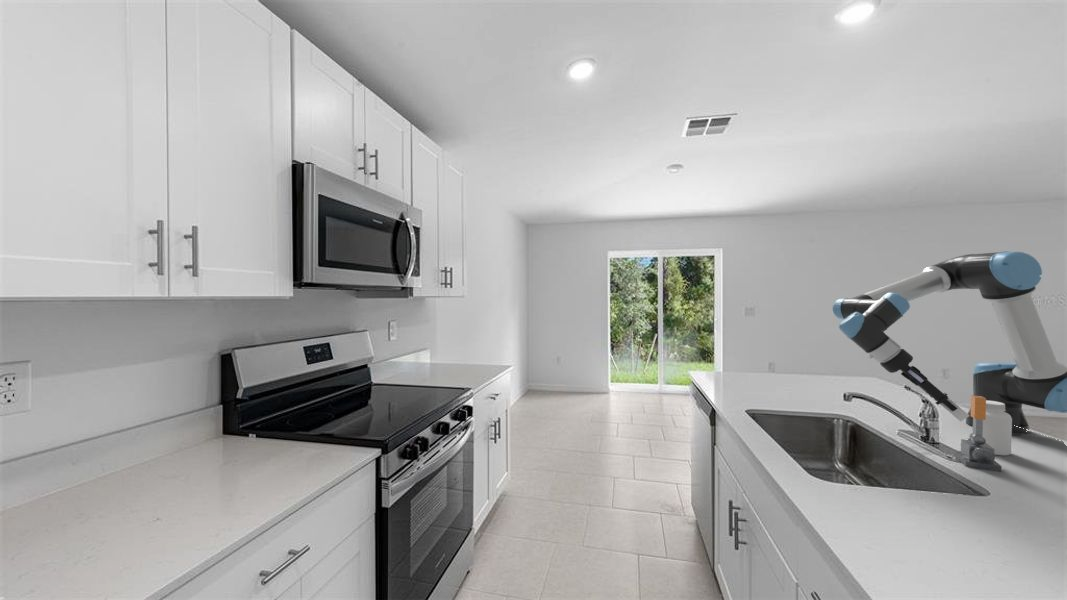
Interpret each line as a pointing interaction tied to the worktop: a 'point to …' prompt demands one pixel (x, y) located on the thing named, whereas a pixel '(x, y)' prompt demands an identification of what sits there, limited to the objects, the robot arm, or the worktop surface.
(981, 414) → the valve lever
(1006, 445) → the pill bottle
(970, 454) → the valve body
